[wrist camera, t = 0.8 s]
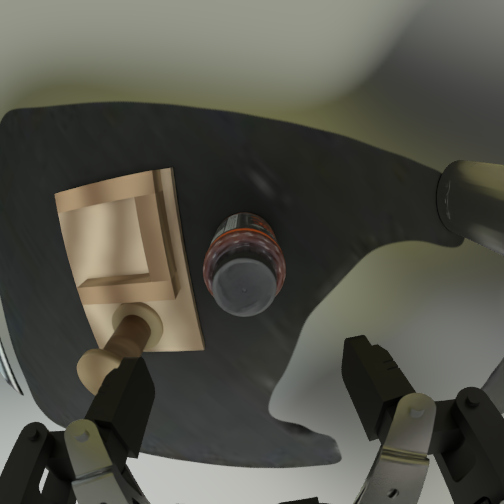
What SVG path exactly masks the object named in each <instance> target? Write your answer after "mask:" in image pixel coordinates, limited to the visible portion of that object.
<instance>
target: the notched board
mask: <svg viewBox="0 0 504 504" xmlns="http://www.w3.org/2000/svg"><path fill="white" fill-rule="evenodd" d="M55 199H56V205H57V210H58V215H59V220H60V225H61V230H62V234H63V239H64V243H65V247H66V251H67V255H68V259H69V262H70V266H71V270H72V273H73V276H74V280H75V283H76V286H77V290H78V293H79V296H80V299H81V302H82V304H83V307H84V310H85V313H86V315H87V318H88V321H89V323H90V326H91V328H92V331H93V333H94V336H95V338H96V341H97V343H98V345H99V348H100V349H103V348H104V346H105V345H106V343H107V342H108V340H109V339H110V337H111V336H112V334H113V333H114V329H113V326H112V317H113V314H114V312H115V311H116V309H117V308H118V307H119V306H120V305H121V304H122V303H133V302H142V303H145V304H147V305H149V306H150V307H151V308H153V309H154V310H155V311H156V312H157V314H158V315H159V316H160V318H161V320H162V323H163V334H162V337H161V339H160V341H159V343H158V344H157V345H156V346H155V347H153V348H151V349H148V350H143V352H159V351H193V350H204V347H205V343H204V339H203V334H202V330H201V326H200V321H199V317H198V312H197V308H196V303H195V298H194V293H193V288H192V283H191V278H190V273H189V268H188V262H187V257H186V251H185V245H184V240H183V234H182V228H181V221H180V215H179V208H178V201H177V194H176V187H175V180H174V172H173V168H166V169H161V170H152V171H146V172H141V173H137V174H132V175H127V176H122V177H118V178H114V179H109V180H105V181H101V182H97V183H93V184H89V185H85V186H81V187H77V188H74V189H70V190H67V191H63V192H60V193H56V194H55Z"/></svg>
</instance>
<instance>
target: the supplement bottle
mask: <svg viewBox="0 0 504 504" xmlns="http://www.w3.org/2000/svg"><path fill="white" fill-rule="evenodd" d="M285 276H286V265H285V259H284V256H283V254H282V251H281V248H280V246H279V244H278V242H277V239H276V237H275V234H274V232H273V230H272V228H271V226H270V225H269V224H268V223H267V222H266V221H265V220H264V219H263V218H261V217H260V216H258V215H255V214H252V213H247V212H243V213H237V214H233V215H231V216H229V217H227V218H226V219H225V220H224V221H223V222H222V223H221V224H220V225H219V227H218V228H217V230H216V232H215V235H214V237H213V239H212V242H211V244H210V247H209V249H208V251H207V254H206V256H205V259H204V265H203V277H204V281H205V284H206V286H207V288H208V290H209V292H210V293H211V294H212V295H213V297H214V298H215V300H216V302H217V304H218V305H219V306H220V307H221V308H222V309H223V310H225V311H226V312H228V313H230V314H232V315H235V316H242V317H247V316H253V315H257V314H259V313H261V312H263V311H264V310H265V309H267V308H268V307H269V306H270V304H271V303H272V302H273V300H274V298H275V296H276V295H277V294H278V292H279V291H280V290H281V288H282V285H283V283H284V280H285Z"/></svg>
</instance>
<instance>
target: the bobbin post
mask: <svg viewBox="0 0 504 504" xmlns="http://www.w3.org/2000/svg"><path fill="white" fill-rule="evenodd" d="M112 326H113V329H114V333H113V334H112V336H111V337H110V339H109V340H108V342H107V343H106V345H105V346H104V348H103V349H91V350H88V351H87V352H85V353H84V354H83V356H82V357H81V359H80V360H79V362H78V364H77V372H78V376H79V378H80V380H81V381H82V383H83V384H84V386H85V387H86V388H87V389H88V390H89V391H90V392H91V393H92V394H94V395H95V396H96V394H98V390H99V388H100V386H101V384H102V382H103V380H104V378H105V376H106V375H107V374H108V373H109V372H110V371H112V370H113V369H114V368H118V367H119V365H120V363H121V361H122V359H123V358H124V357H140V356H141V354H142V352H143V350H148V349H151V348H153V347H155V346H156V345H157V344H158V343H159V341H160V339H161V337H162V334H163V323H162V320H161V318H160V316H159V315H158V314H157V312H156V311H155V310H154V309H153V308H151V307H150V306H149V305H147V304H145V303H142V302H133V303H122V304H121V305H120V306H119V307H118V308H117V309H116V311H115V312H114V314H113V317H112Z"/></svg>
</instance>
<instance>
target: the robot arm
mask: <svg viewBox="0 0 504 504" xmlns="http://www.w3.org/2000/svg"><path fill="white" fill-rule="evenodd" d="M437 207H438V212H439V215H440V218H441V221H442V222H443V224H444V226H445V227H446V228H447V229H448V230H450V231H452V232H454V233H456V234H458V235H460V236H463V237H465V238H467V239H469V240H471V241H473V242H476V243H478V244H480V245H482V246H484V247H486V248H488V249H490V250H492V251H494V252H497V253H499V254H500V255H502V256H504V165H498V164H491V163H483V162H474V161H464V160H458V161H454V162H452V163H451V164H450V165H448V167H447V168H446V169H445V170H444V172H443V174H442V176H441V178H440V181H439V185H438V189H437ZM342 376H343V381H344V383H345V385H346V388H347V390H348V392H349V395H350V397H351V399H352V402H353V404H354V406H355V409H356V411H357V413H358V415H359V418H360V420H361V423H362V425H363V427H364V430H365V432H366V434H367V437H368V439H369V441H372V440H375V439H379V440H380V442H381V446H380V448H379V451H378V453H377V456H376V458H375V461H374V463H373V465H372V467H371V469H370V472H369V474H368V476H367V478H366V480H365V482H364V484H363V486H362V488H361V490H360V492H359V494H358V495H357V497H356V499H355V501H354V503H353V504H417V502H418V499H419V497H420V493H421V491H422V488H423V484H424V481H425V478H426V474H427V471H428V467H429V459H428V458H427V455H430V454H433V455H434V457H435V459H436V462H437V464H438V466H439V468H440V471H441V473H442V475H443V477H444V480H445V482H446V485H447V487H448V489H449V492H450V494H451V496H452V499H453V501H454V504H504V418H503V417H502V415H501V414H500V412H499V411H498V410H497V408H496V407H495V405H494V404H493V403H492V401H491V400H490V398H489V397H488V396H487V394H486V393H485V392H484V391H483V390H481V389H479V388H476V387H467V388H464V389H462V390H461V391H460V392H459V393H458V395H457V397H456V399H453V400H446V401H433V399H432V398H430V397H429V396H427V395H425V394H422V393H416V392H415V390H414V389H413V387H412V386H411V384H410V383H409V381H408V380H407V378H406V377H405V376H404V374H403V373H402V371H401V370H400V368H398V365H397V364H396V362H395V361H393V358H392V357H391V355H390V354H389V352H388V351H387V350H385V349H384V348H382V347H380V346H379V345H373V346H372V345H371V344H370V343H369V341H368V339H367V338H366V336H365V335H360V336H355V337H350V338H346V339H345V341H344V350H343V359H342ZM154 398H155V387H154V383H153V381H152V378H151V376H150V373H149V371H148V368H147V366H146V363H145V361H144V359H143V358H142V357H124V358H123V359H122V361H121V363H120V365H119V367H118V368H114V369H113V370H112V371H110V372H109V373H108V374H107V375H106V376H105V378H104V380H103V382H102V384H101V386H100V388H99V390H98V394H96V396H95V398H94V400H93V402H92V404H91V406H90V408H89V410H88V412H87V414H86V416H85V418H84V419H80V420H76V421H74V422H72V423H71V424H70V425H69V426H68V427H67V428H66V430H65V431H54V432H53V431H52V432H49V430H47V428H46V427H45V426H44V425H43V424H42V423H39V422H33V423H30V424H28V425H26V426H25V427H24V428H23V430H22V431H21V433H20V435H19V437H18V439H17V441H16V443H15V445H14V447H13V449H12V452H11V453H10V456H9V458H8V460H7V462H6V464H5V467H4V469H3V471H2V474H1V476H0V504H75V503H76V500H77V501H78V504H150V502H149V501H148V500H147V499H146V497H145V495H144V494H143V492H142V491H141V489H140V487H139V486H138V484H137V482H136V481H135V479H134V477H133V475H132V474H131V472H130V470H129V468H128V466H127V465H126V459H127V457H130V458H138V455H139V451H140V447H141V444H142V440H143V436H144V433H145V429H146V426H147V422H148V419H149V415H150V412H151V408H152V405H153V402H154ZM45 468H46V469H47V470H49V473H48V476H47V478H46V481H45V484H44V487H43V490H42V493H40V491H39V483H40V480H41V477H42V475H43V472H44V469H45ZM279 504H327V503H319V501H318V497H314V498H308V499H302V500H296V501H289V502H282V503H279Z"/></svg>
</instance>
